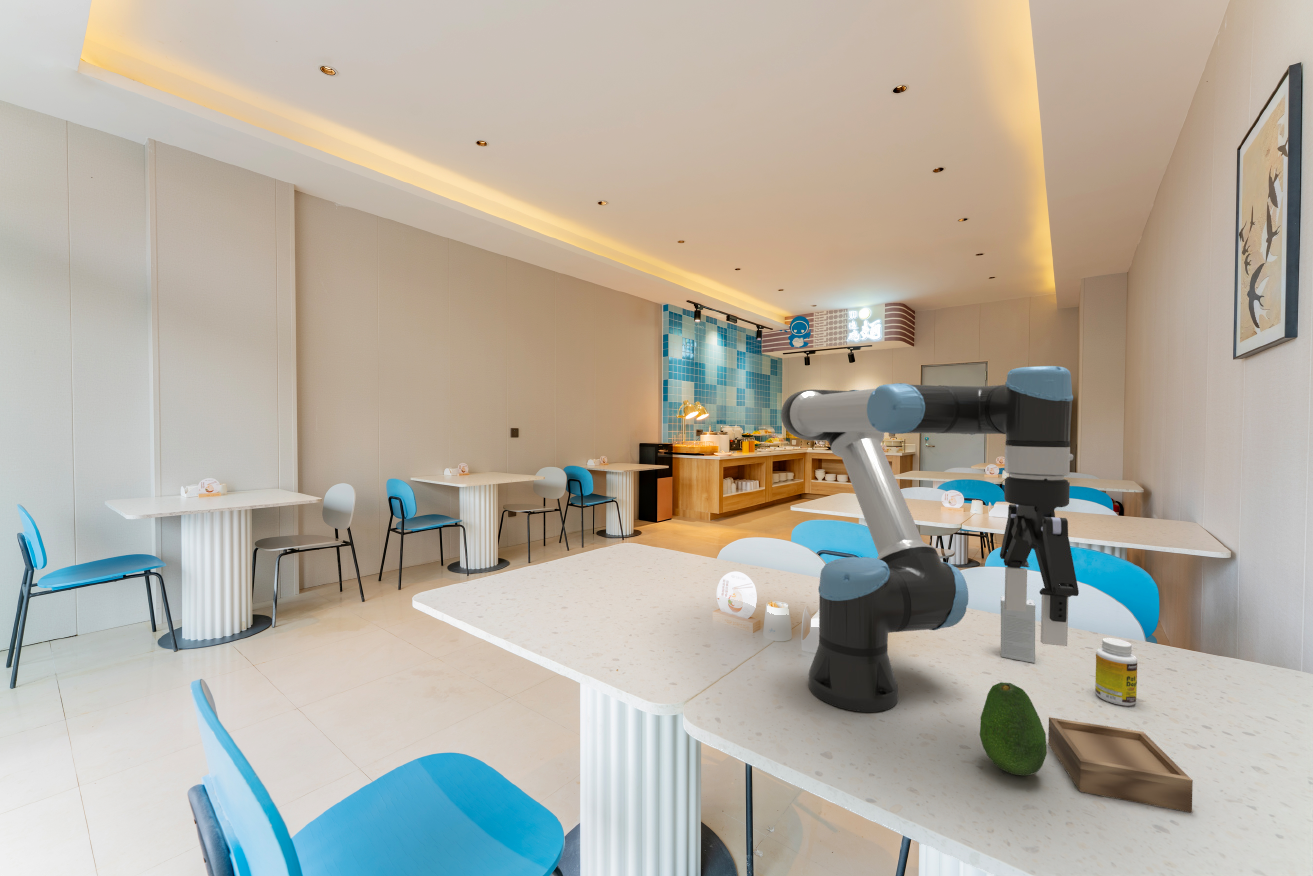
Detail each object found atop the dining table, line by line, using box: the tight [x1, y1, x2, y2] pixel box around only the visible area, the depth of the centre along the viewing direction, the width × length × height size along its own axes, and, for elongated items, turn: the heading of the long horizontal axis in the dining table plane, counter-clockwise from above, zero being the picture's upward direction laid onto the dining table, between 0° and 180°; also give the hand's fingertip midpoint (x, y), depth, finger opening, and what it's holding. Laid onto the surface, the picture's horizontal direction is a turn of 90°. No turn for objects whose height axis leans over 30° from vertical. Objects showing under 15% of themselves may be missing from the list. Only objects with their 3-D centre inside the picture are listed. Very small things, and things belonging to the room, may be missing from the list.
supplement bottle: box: [1094, 637, 1138, 707], centre depth 95 cm, size 6×6×10 cm
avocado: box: [979, 681, 1048, 777], centre depth 74 cm, size 8×8×12 cm
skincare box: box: [1000, 595, 1036, 664], centre depth 113 cm, size 6×4×12 cm
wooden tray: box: [1047, 716, 1194, 813], centre depth 74 cm, size 12×12×4 cm
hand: (1032, 626), depth 76 cm, fingers open, 13 cm apart
